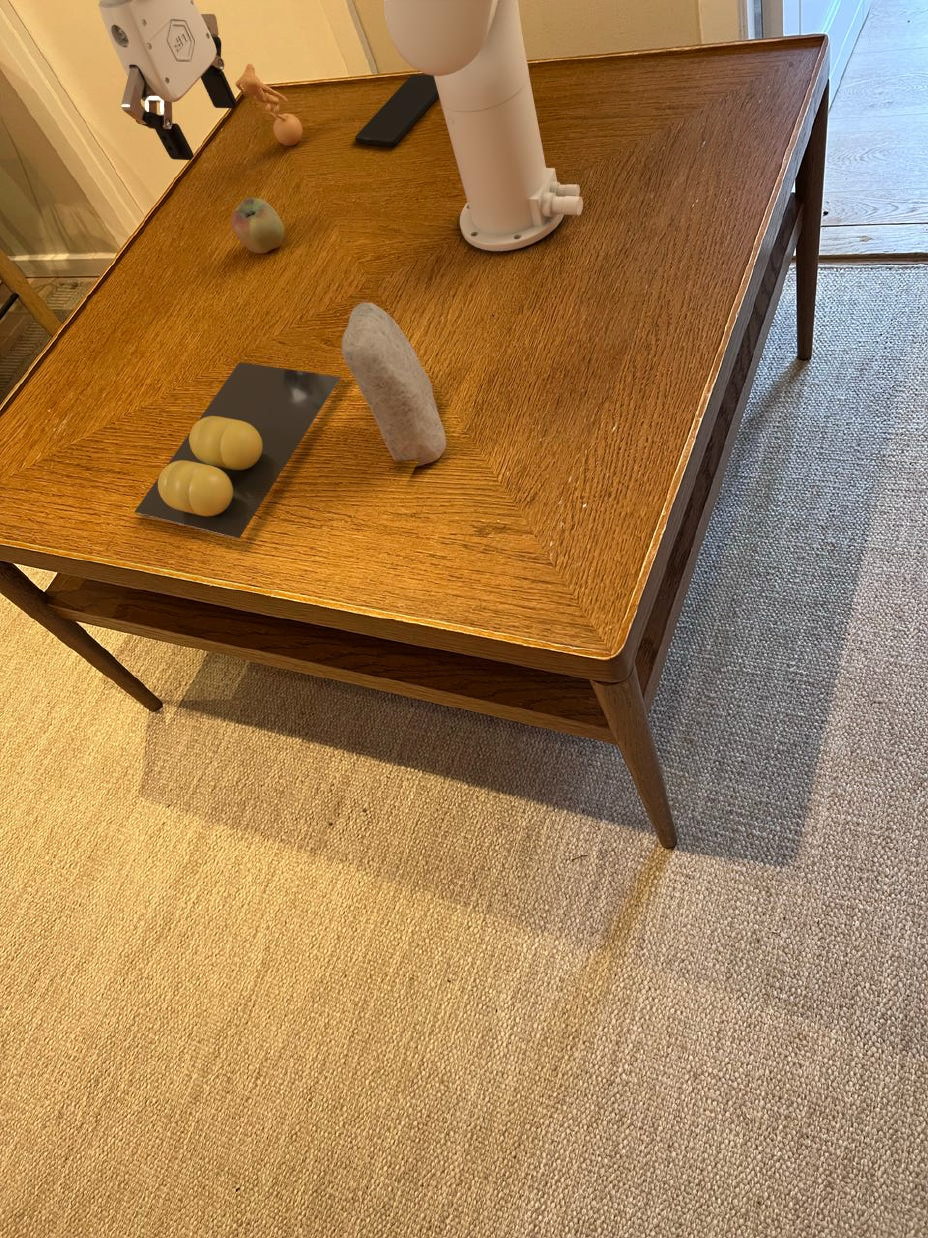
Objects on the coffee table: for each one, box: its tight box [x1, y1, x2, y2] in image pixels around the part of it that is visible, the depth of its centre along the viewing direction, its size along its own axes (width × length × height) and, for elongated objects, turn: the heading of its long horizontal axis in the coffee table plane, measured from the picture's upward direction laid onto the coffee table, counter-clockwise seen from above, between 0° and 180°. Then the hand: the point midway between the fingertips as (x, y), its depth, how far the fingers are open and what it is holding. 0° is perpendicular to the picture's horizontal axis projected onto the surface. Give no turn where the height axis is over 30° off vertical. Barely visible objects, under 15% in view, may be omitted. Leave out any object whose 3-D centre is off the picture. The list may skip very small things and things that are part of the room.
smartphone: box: [355, 74, 439, 148], centre depth 124 cm, size 7×1×15 cm
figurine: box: [234, 63, 303, 147], centre depth 123 cm, size 8×6×12 cm
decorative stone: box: [341, 302, 447, 468], centre depth 86 cm, size 11×6×15 cm, turn 5°
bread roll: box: [157, 460, 233, 516], centre depth 90 cm, size 8×5×5 cm, turn 65°
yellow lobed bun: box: [189, 416, 262, 470], centre depth 93 cm, size 8×5×5 cm, turn 65°
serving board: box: [133, 361, 342, 540], centre depth 96 cm, size 14×22×2 cm, turn 155°
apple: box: [230, 197, 285, 254], centre depth 114 cm, size 6×8×6 cm
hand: (205, 131), depth 105 cm, fingers open, 9 cm apart
